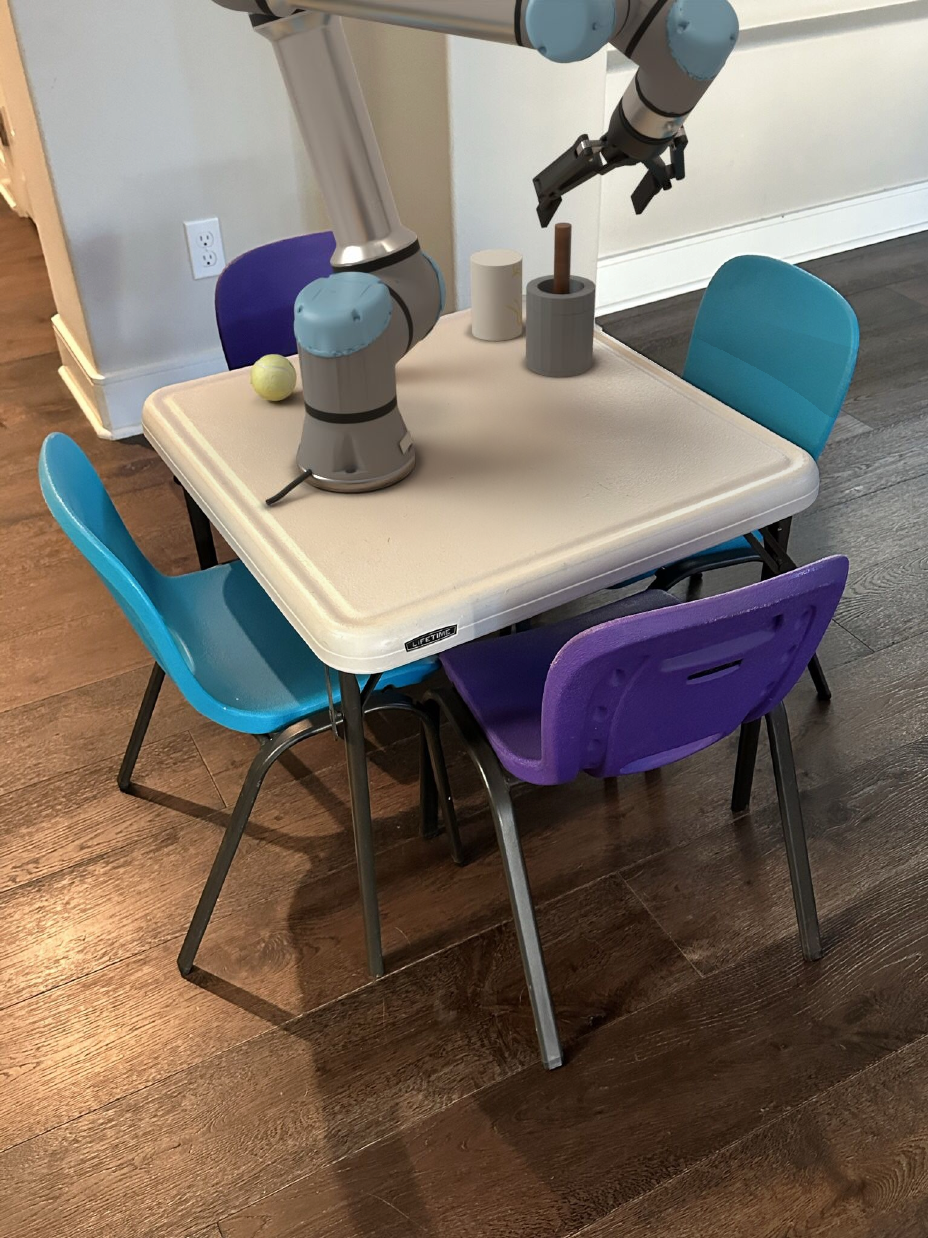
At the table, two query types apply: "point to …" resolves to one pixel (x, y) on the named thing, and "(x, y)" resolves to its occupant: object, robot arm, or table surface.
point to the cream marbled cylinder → (496, 294)
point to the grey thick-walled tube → (559, 327)
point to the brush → (562, 258)
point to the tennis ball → (273, 377)
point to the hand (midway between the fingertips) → (588, 211)
